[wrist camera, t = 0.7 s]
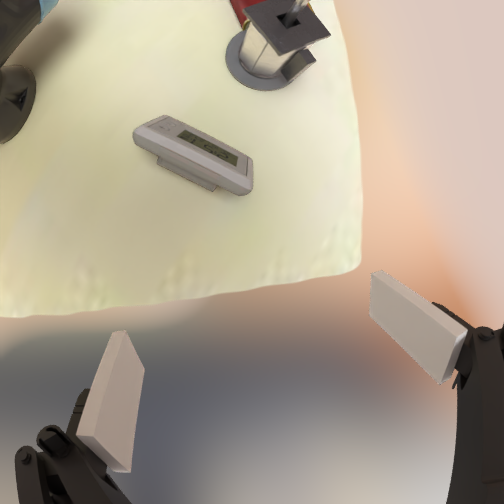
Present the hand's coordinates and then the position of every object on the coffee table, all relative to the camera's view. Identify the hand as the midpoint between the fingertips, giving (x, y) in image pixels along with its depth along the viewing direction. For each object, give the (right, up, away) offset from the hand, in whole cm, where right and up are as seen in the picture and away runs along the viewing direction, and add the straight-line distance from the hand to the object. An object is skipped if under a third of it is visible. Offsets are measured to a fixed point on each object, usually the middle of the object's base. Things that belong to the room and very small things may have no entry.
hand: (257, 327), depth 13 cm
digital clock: (-8, +18, +25) cm, 32 cm away
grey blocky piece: (+2, +34, +21) cm, 40 cm away
